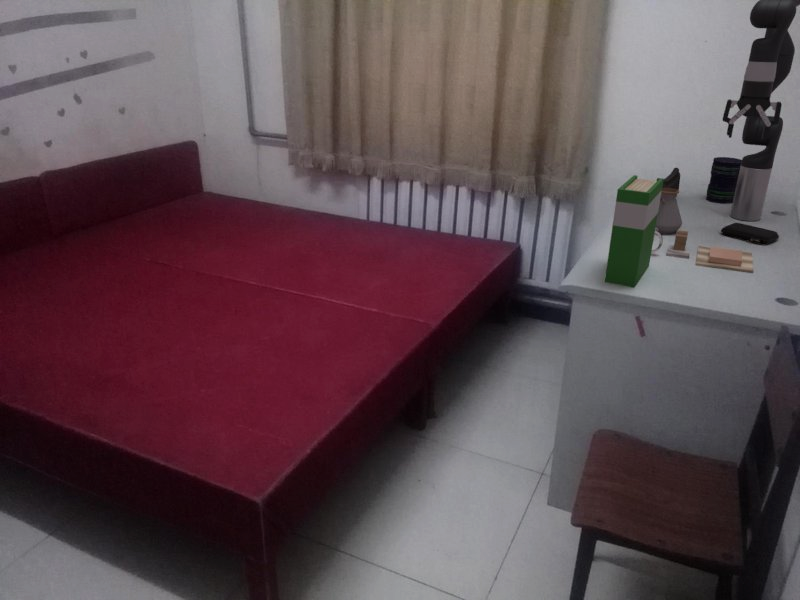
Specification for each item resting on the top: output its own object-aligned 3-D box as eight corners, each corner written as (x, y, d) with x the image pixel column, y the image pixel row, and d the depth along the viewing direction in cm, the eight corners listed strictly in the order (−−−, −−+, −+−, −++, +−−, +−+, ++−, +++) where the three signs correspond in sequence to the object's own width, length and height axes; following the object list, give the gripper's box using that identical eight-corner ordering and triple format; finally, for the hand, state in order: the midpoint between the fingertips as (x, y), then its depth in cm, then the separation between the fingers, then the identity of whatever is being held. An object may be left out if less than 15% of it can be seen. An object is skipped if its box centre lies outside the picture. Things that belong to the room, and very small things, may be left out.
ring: (660, 254, 186) (665, 227, 183) (659, 257, 183) (663, 230, 180) (635, 250, 189) (639, 223, 186) (633, 253, 187) (637, 226, 183)
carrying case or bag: (715, 236, 203) (764, 248, 192) (717, 226, 202) (767, 238, 191) (731, 229, 209) (780, 241, 199) (733, 220, 208) (782, 231, 198)
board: (698, 247, 191) (698, 245, 191) (751, 254, 186) (751, 252, 186) (695, 265, 178) (696, 262, 178) (753, 273, 173) (753, 270, 172)
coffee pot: (648, 222, 214) (656, 177, 208) (685, 229, 208) (693, 182, 202) (626, 238, 199) (634, 190, 193) (665, 246, 192) (674, 196, 186)
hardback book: (621, 261, 180) (633, 175, 171) (648, 266, 177) (663, 178, 167) (604, 281, 166) (617, 189, 157) (634, 287, 163) (649, 193, 153)
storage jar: (700, 200, 241) (708, 159, 235) (712, 195, 247) (720, 155, 241) (727, 205, 235) (736, 163, 229) (739, 200, 241) (748, 160, 235)
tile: (710, 246, 185) (709, 256, 178) (741, 250, 182) (742, 260, 175) (709, 252, 186) (708, 262, 178) (740, 256, 183) (740, 266, 175)
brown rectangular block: (668, 245, 193) (671, 229, 191) (690, 248, 191) (693, 231, 189) (666, 255, 185) (669, 238, 183) (688, 258, 183) (692, 241, 181)
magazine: (674, 168, 248) (658, 157, 222) (683, 170, 246) (668, 159, 220) (663, 215, 250) (646, 209, 224) (672, 216, 249) (656, 211, 223)
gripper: (787, 79, 181) (773, 138, 188) (730, 76, 187) (719, 134, 193) (789, 81, 175) (774, 142, 182) (730, 79, 180) (718, 138, 187)
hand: (746, 138), depth 187 cm, fingers open, 8 cm apart
